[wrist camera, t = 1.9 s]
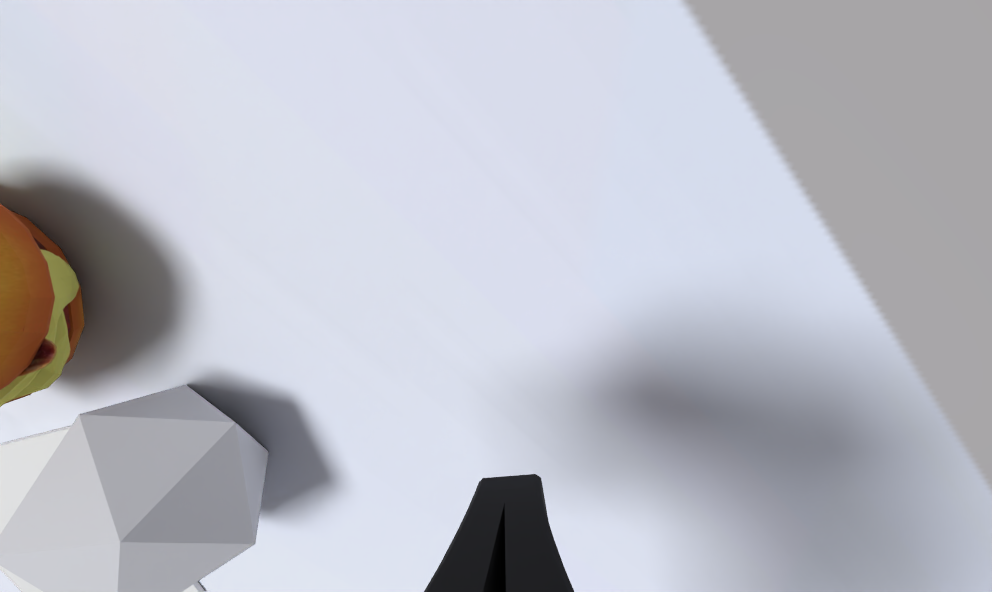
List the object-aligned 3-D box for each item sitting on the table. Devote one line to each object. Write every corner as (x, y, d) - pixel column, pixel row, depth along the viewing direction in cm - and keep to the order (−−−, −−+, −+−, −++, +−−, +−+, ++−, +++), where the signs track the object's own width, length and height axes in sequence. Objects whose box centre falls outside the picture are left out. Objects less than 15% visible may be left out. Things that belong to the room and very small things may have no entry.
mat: (204, 590, 29) (201, 595, 28) (53, 615, 31) (48, 619, 31) (77, 424, 24) (72, 427, 24) (-90, 466, 26) (-96, 469, 26)
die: (332, 410, 22) (155, 328, 23) (172, 568, 14) (-95, 431, 15) (300, 530, 25) (145, 454, 26) (154, 717, 17) (-66, 597, 18)
